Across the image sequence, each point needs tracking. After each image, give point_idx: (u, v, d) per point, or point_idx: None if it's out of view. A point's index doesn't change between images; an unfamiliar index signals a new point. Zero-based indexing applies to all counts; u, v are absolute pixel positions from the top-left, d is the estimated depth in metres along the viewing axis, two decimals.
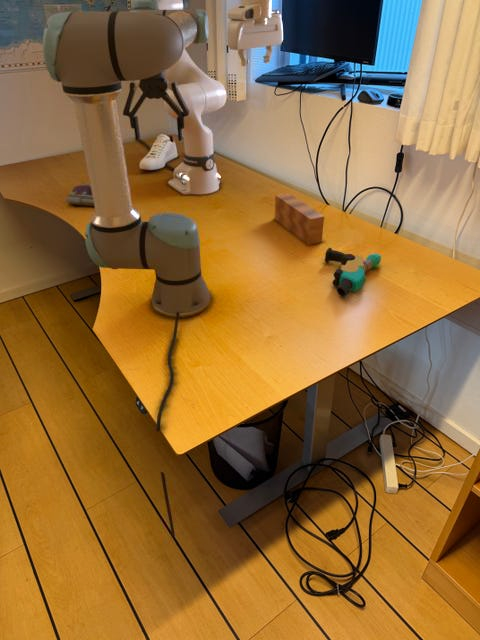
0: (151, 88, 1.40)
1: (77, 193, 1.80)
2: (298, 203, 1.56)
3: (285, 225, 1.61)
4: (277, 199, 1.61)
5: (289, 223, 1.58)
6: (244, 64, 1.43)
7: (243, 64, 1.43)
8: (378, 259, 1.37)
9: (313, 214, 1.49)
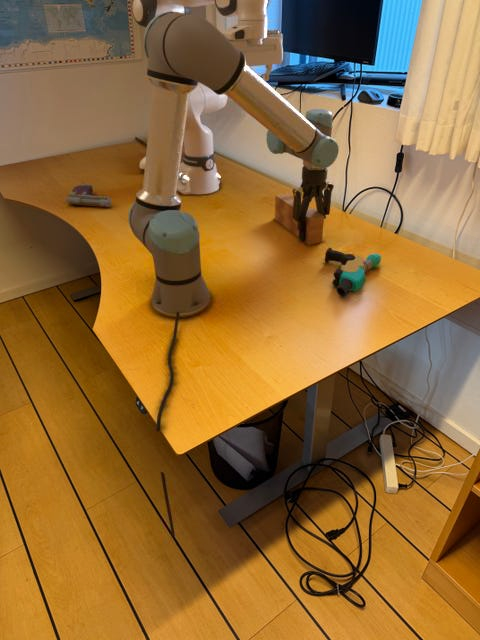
0: (314, 187, 1.43)
1: (77, 193, 1.80)
2: None
3: (285, 225, 1.61)
4: (277, 199, 1.61)
5: (289, 223, 1.58)
6: None
7: None
8: (378, 259, 1.37)
9: (313, 214, 1.49)
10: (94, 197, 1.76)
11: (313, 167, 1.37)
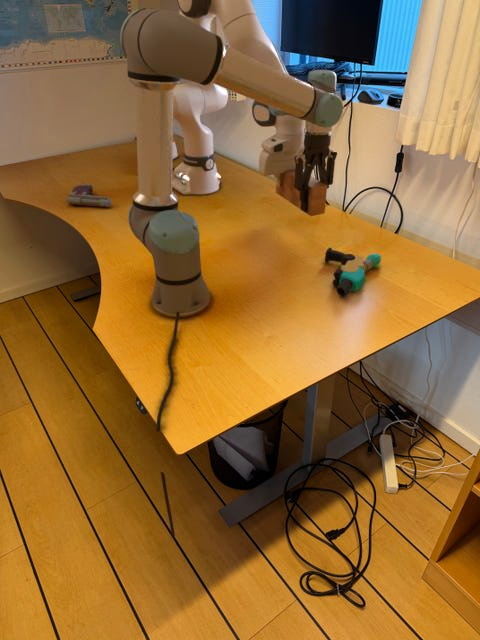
0: (317, 154, 1.37)
1: (77, 193, 1.80)
2: None
3: (286, 197, 1.56)
4: None
5: (291, 195, 1.53)
6: (278, 185, 1.56)
7: (277, 184, 1.56)
8: (378, 259, 1.37)
9: (315, 183, 1.43)
10: (94, 197, 1.76)
11: (316, 132, 1.31)
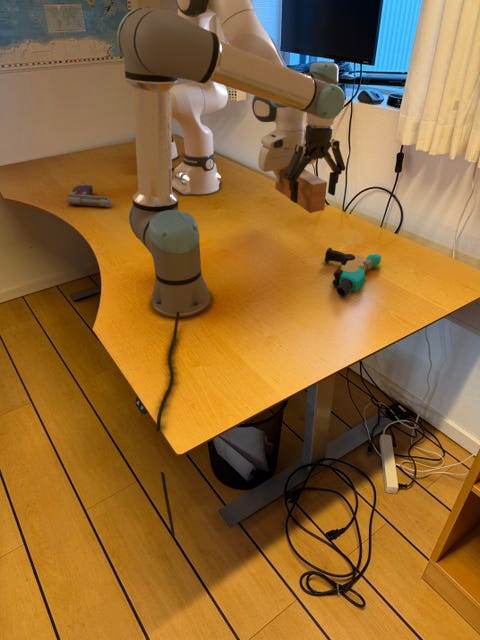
0: None
1: (77, 193, 1.80)
2: None
3: (286, 194, 1.55)
4: None
5: (290, 191, 1.52)
6: (278, 181, 1.55)
7: (277, 181, 1.56)
8: (378, 259, 1.37)
9: (315, 180, 1.43)
10: (94, 197, 1.76)
11: (317, 125, 1.30)
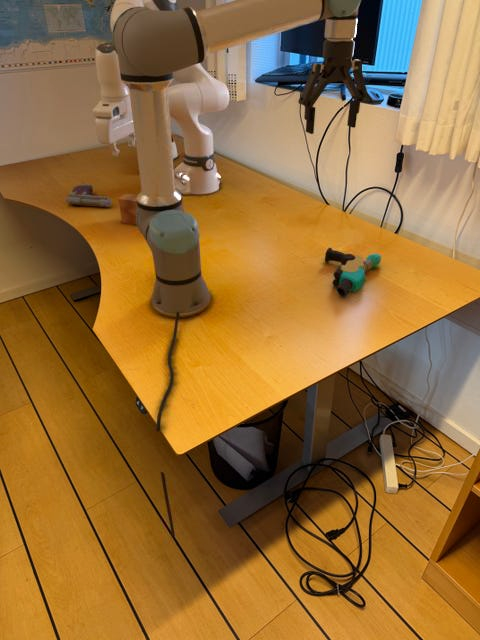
0: None
1: (77, 193, 1.80)
2: None
3: None
4: (123, 201, 1.61)
5: None
6: (116, 154, 1.48)
7: (115, 154, 1.49)
8: (378, 259, 1.37)
9: None
10: (94, 197, 1.76)
11: (338, 37, 1.13)
